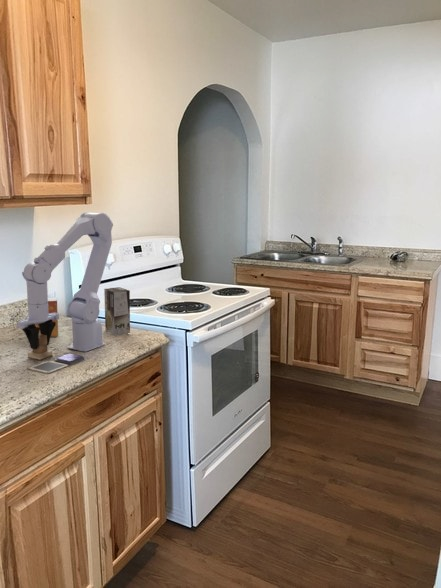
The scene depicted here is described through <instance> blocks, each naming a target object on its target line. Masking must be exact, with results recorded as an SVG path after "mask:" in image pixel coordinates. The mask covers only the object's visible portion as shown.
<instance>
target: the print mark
mask: <svg viewBox="0 0 441 588" xmlns="http://www.w3.org/2000/svg"><path fill="white" fill-rule="evenodd" d="M69 366H70V365H67V364H63V363H58V362H55V361H52V360H47V361H44V362H40V363H39V364H38V363H37V364H35V365H32V366H29V367H27V370H29V371H34V372H38V373H42V374H46V375H49V374H52V373H54V372H58V371H60V370H63V369H65V368H67V367H69Z"/></svg>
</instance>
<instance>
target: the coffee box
mask: <svg viewBox="0 0 441 588" xmlns="http://www.w3.org/2000/svg"><path fill="white" fill-rule="evenodd" d="M103 290H104V293H103V295H104V323H105V332H107V333H109V334H110V335H113V336H114V337H116V336H117V335H118V336H123V334H126V335H129V334H128V333H130V334H131V312H130V311H131V307H130V306H131V303H130V302H131V295H130V293H131V291H130V290H129V289H126V288H123V287H118V286H117V287H109V288H104V289H103Z"/></svg>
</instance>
